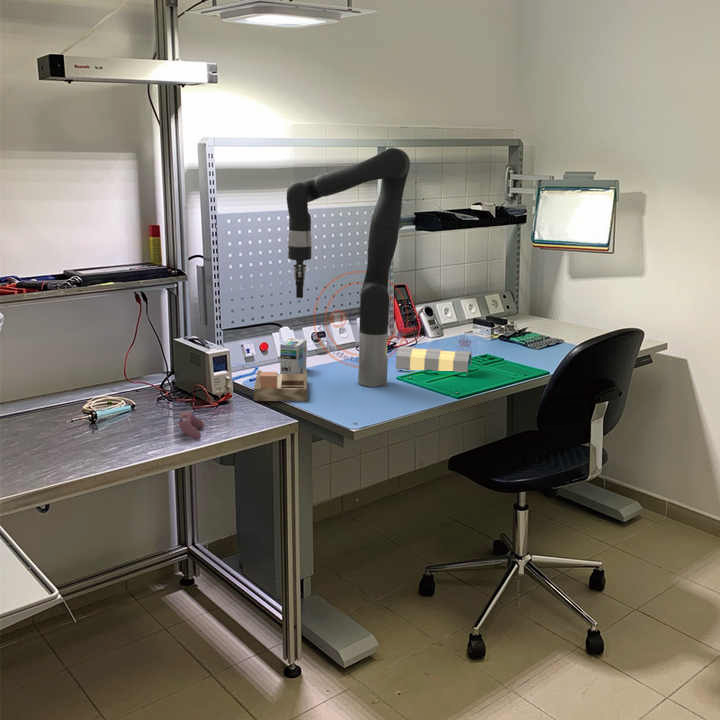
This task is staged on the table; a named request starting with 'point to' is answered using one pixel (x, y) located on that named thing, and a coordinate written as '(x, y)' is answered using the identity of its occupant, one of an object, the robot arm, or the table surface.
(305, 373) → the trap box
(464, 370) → the gray yellow striped block
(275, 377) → the block
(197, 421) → the video game controller
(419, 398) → the table surface
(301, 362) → the light bulb box
